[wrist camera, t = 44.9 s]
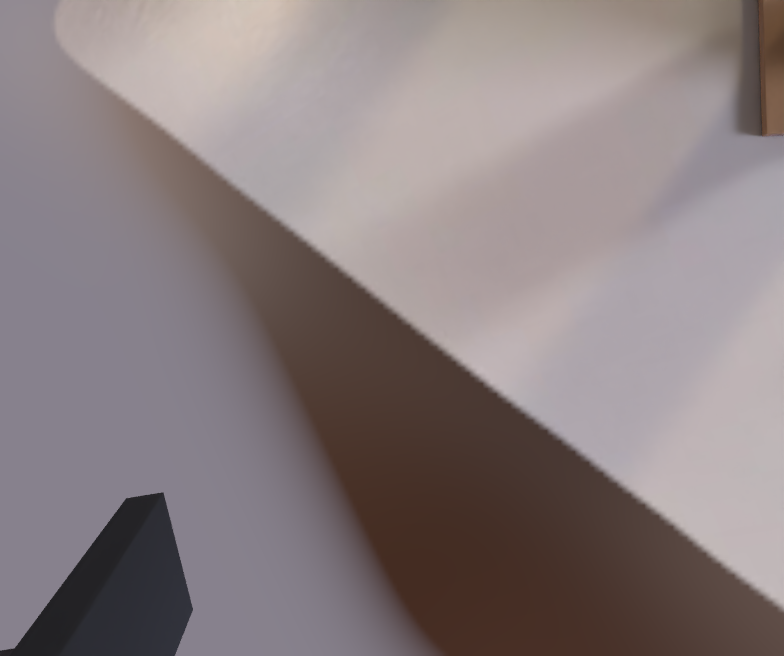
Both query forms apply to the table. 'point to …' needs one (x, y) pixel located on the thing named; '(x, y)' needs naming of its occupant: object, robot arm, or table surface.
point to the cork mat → (772, 66)
